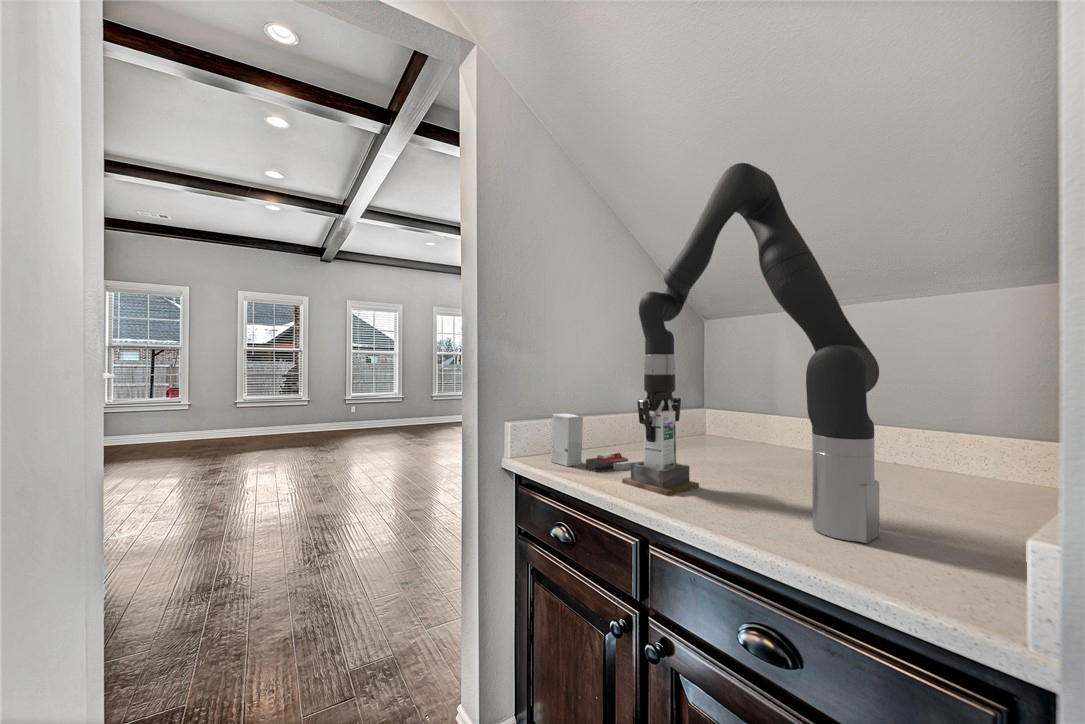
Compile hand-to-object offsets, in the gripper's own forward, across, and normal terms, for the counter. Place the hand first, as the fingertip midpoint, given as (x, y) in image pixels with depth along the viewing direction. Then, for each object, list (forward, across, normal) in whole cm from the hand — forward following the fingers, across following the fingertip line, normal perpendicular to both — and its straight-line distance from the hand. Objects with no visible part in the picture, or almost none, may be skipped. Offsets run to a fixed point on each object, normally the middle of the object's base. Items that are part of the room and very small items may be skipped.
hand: (659, 440), depth 112 cm
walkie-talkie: (+12, +6, +21) cm, 25 cm away
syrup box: (+7, 0, 0) cm, 7 cm away
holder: (+11, 0, 0) cm, 11 cm away
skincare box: (+11, -3, +33) cm, 35 cm away
